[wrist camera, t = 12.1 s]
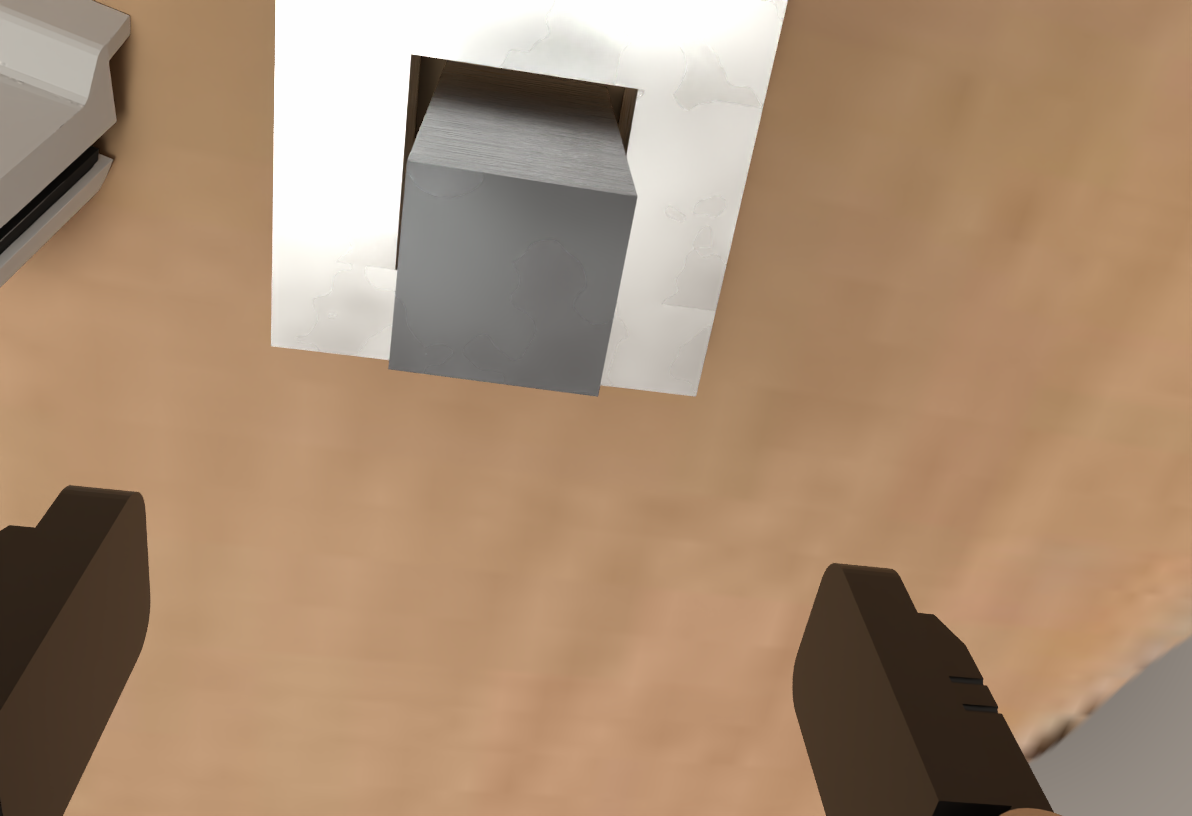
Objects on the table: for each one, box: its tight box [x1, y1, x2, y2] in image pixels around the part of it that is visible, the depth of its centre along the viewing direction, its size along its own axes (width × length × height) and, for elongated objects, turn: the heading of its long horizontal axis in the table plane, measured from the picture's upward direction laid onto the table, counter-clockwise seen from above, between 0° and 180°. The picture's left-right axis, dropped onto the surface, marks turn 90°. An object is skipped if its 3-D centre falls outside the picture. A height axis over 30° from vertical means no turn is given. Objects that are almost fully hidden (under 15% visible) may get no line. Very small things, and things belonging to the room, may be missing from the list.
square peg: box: [388, 60, 638, 396], centre depth 25 cm, size 4×4×10 cm
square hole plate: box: [271, 0, 788, 396], centre depth 27 cm, size 15×12×3 cm
